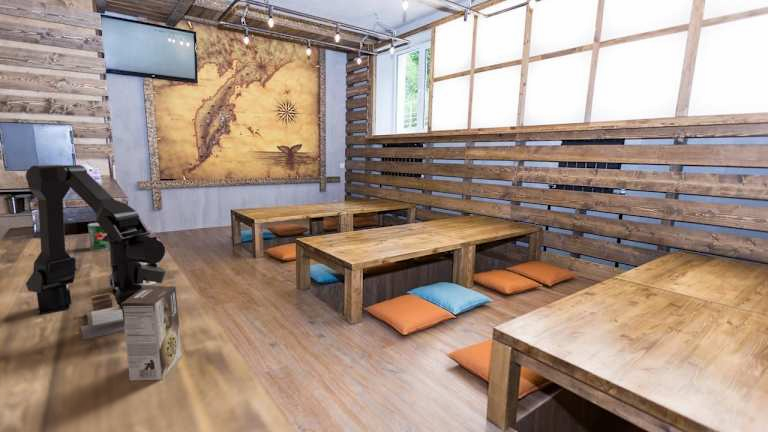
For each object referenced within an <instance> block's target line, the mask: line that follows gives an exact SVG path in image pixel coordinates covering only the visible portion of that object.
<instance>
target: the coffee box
mask: <svg viewBox="0 0 768 432" xmlns="http://www.w3.org/2000/svg"><path fill="white" fill-rule="evenodd" d="M177 299H178V298H177V290H176V285H174V286H171V285H170V286H166V285H151V286H150V285H144V288H142V289H141V290H139V291H138V292H136V293H135V294H134V295H132V296H131V297H129V298H128V299H127V300H125V301H124V302H122V303H121V305H122V313H123V322H124V331H123V332H124V337H125V338H124V339H125V348H126V349H125V350H126V357H127V358H126V359H127V368H128V377H129V380H130V382H131V381H161V380H164V378H165V377H166V376H167V374H168V373H169V372H170V371H171V370H172V368H173V367H174V366H175V365H176V363H177V362H178V361H179V360H180V358H181V357H182V355H183V353H182V344H181V332H180V321H179V320H180V319H179V309H178V300H177Z"/></svg>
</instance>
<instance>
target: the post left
mask: <svg viewBox="0 0 768 432" xmlns="http://www.w3.org/2000/svg"><path fill="white" fill-rule="evenodd" d="M91 304H92V305H91V306H92V312H93V311H98V310H102V309H107V308H112V307H113V299H112V297H111V293H110V292H108V293H103V294H102V293H101V294H98V295H96V294H95V295H91Z"/></svg>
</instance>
